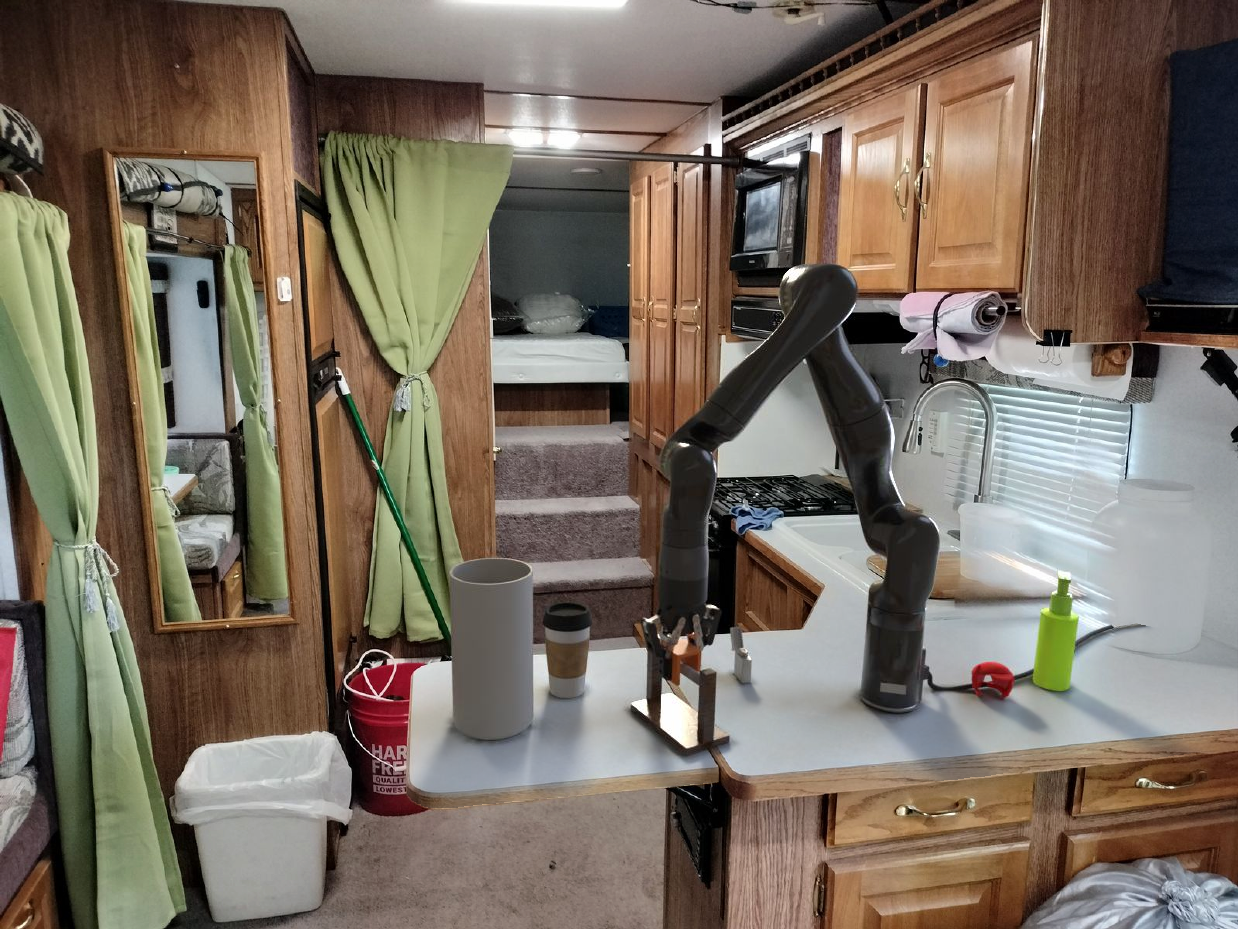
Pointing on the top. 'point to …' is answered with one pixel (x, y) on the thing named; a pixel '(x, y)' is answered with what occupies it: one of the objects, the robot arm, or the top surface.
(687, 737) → the handle stand
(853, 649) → the top surface
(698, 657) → the clip
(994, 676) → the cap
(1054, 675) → the soap dispenser
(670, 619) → the robot arm
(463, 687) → the cylinder vase
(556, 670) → the coffee cup
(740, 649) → the lighter
